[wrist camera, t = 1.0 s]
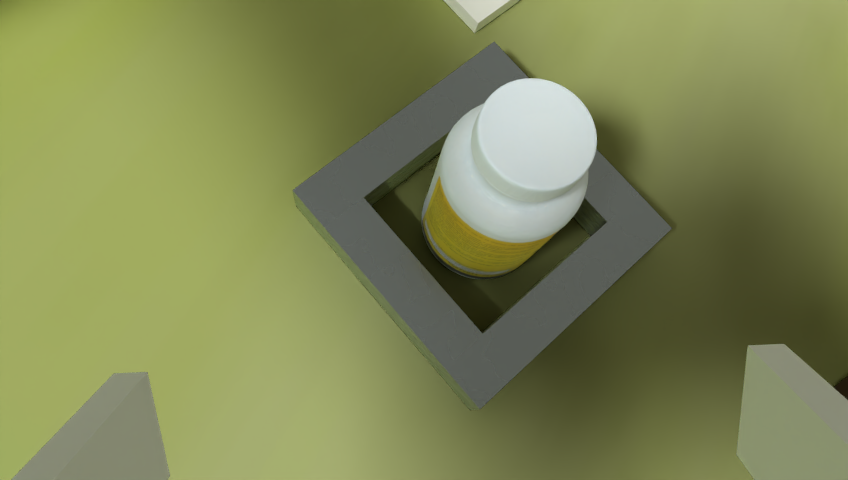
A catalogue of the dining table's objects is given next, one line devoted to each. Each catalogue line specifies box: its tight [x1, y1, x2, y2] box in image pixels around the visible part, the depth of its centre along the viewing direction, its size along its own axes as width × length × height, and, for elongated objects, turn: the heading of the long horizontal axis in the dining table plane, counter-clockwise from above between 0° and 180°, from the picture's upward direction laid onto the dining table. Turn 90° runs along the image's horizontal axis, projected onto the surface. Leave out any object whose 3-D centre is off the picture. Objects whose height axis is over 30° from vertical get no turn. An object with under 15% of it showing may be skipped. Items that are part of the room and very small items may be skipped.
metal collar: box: [293, 42, 672, 410], centre depth 34 cm, size 14×14×2 cm
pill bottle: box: [422, 78, 597, 279], centre depth 29 cm, size 6×6×12 cm
